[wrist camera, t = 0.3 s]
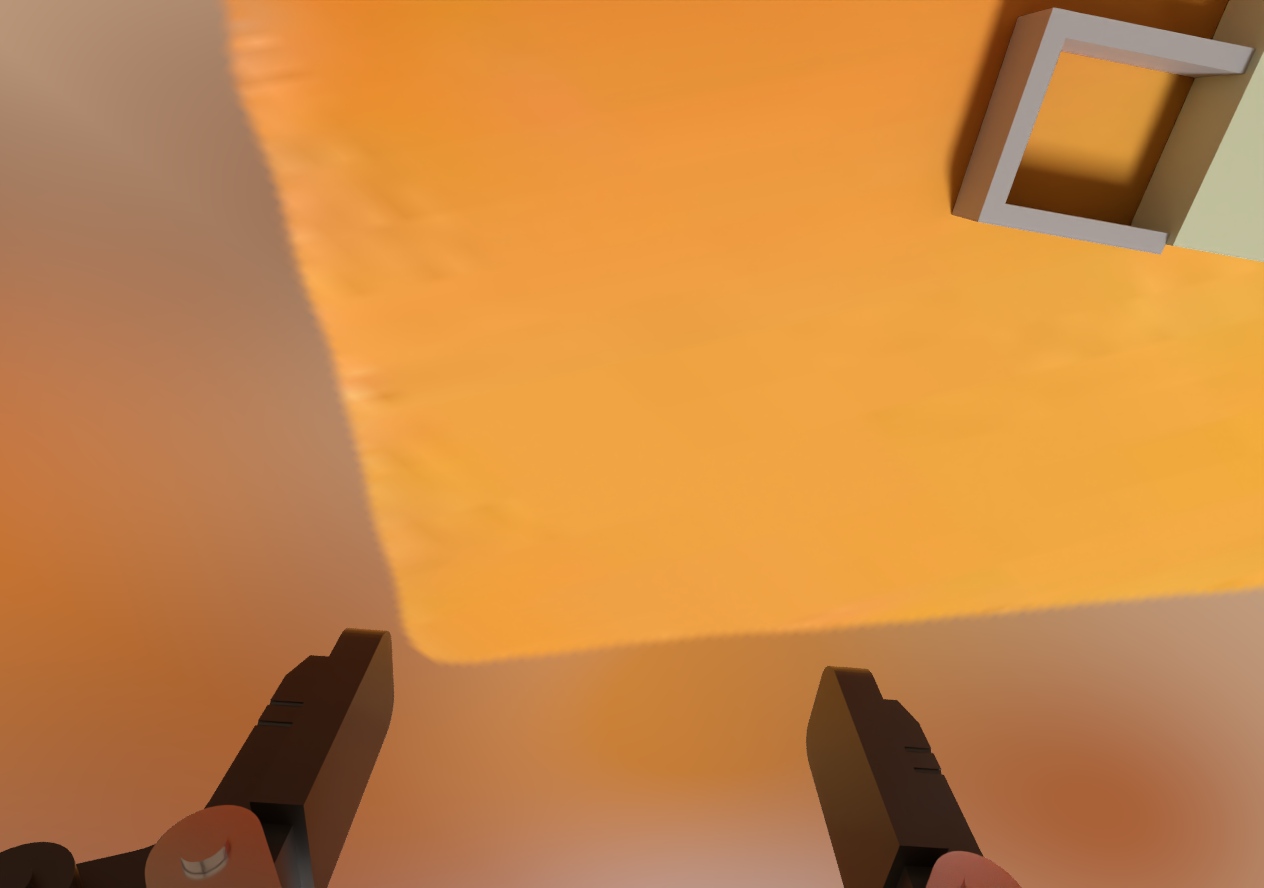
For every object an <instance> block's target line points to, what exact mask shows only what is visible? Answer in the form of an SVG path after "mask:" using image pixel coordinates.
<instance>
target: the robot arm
mask: <svg viewBox="0 0 1264 888" xmlns="http://www.w3.org/2000/svg"><path fill="white" fill-rule="evenodd" d="M393 684H394V683H393V663H392V642H391V635H390V633H389V632H388V631H380V630H366V629H354V628H346V629H345V630H344V631H343V632H342V634H341V636H340V637H339V639H338V641H337V643H336V645H335V647H334V649H333V650H332V652H331V654H330V656H329V657H325V656H312V655H311V656H309V657H308V658H306V659H305V660H304V661H303V662H302V663H300V664H299V665H298V666H297V667H296V668H294V669H293V670H292V671H291V672H289V673H288V674H287V675H286V676H285V677H284V679H283V681H282V682H281V684H280V685H279V687H278V689H277V690H276V692H275V694H274V695H273V697H272V699H271V702H270V705H268V706H267V707H266V709H265V710H264V712H263V714H262V715H261V717H260V718H259V721H258V725H257V726H255V727H254V728H253V730H252V732H251V733H250V735H249V737H248V739H247V740H246V742H245V743H244V745H243V747H242V748H241V750H240V751H239V753H238V755H237V756H236V758H235V760H234V761H233V763H232V765H231V766H230V768H229V770H228V771H227V773H226V775H225V776H224V778H223V780H222V782H221V783H220V784H219V786H218V788H217V790H216V791H215V793H214V794H213V796H212V798H211V799H210V801H209V802H208V804H207V805H206V807H205V808H204V809H203V810H200V811H197V812H195V813H193V814H191V815H189V816H187V817H185V818H184V819H182V820H181V821H179V822H177V823H176V824H175V825H174V826H172V827H171V828H170V829H169V830H167V832H166V833H164V834H163V835H162V836H161V838H160V839H159V840H158V841H157V843H156V844H154V845H152V846H150V847H147V848H144V849H140V850H136V851H133V852H128V853H124V854H119V855H115V856H111V857H106V858H101V859H97V860H93V861H88V862H83V863H79V864H76V863H75V861H74V858H73V856H72V854H71V852H69V850H68V849H66V848H65V847H63V846H61V845H59V844H55V843H50V842H37V843H30V844H24V845H20V846H17V847H14V848H10V849H8V850H5V851H3V852H1V853H0V888H327V887H328V884H329V881H330V879H331V876H332V874H333V871H334V868H335V866H336V863H337V861H338V858H339V855H340V853H341V850H342V848H343V845H344V843H345V840H346V837H347V835H348V832H349V829H350V827H351V824H352V822H353V819H354V817H355V814H356V811H357V809H358V806H359V804H360V801H361V799H362V796H363V793H364V791H365V788H366V786H367V783H368V780H369V778H370V775H371V773H372V770H373V767H374V765H375V762H376V759H377V757H378V754H379V752H380V749H381V747H382V744H383V741H384V739H385V736H386V734H387V731H388V728H389V725H390V721H391V716H392V711H393V703H394V685H393ZM806 746H807V756H808V761H809V765H810V769H811V772H812V776H813V779H814V783H815V786H816V790H817V793H818V797H819V800H820V804H821V807H822V811H823V814H824V818H825V821H826V825H827V828H828V832H829V836H830V839H831V843H832V846H833V850H834V853H835V857H836V860H837V864H838V868H839V871H840V875H841V878H842V882H843V885H844V888H1021V886H1020V885H1019V884H1018V883H1017V881H1016V880H1014V878H1012V876H1011V875H1010V874H1009V873H1007V872H1006V871H1005V870H1004V869H1003V868H1001V867H1000V866H998V865H997V864H995V863H994V862H992V861H991V860H988V859H987V858H985V857H983V855H982V853H981V851H980V849H979V847H978V845H977V843H976V841H975V839H974V836H973V835H972V832H971V830H970V828H969V826H968V824H967V822H966V820H965V818H964V816H963V814H962V812H961V810H960V807H959V805H958V803H957V802H956V799H955V797H954V795H953V793H952V791H951V789H950V787H949V785H948V783H947V780H946V778H945V776H944V775H942V774H941V768H940V766H939V764H938V762H937V760H936V758H935V756H934V754H933V753H931V747H930V745H929V743H928V741H927V739H926V737H925V735H924V733H923V731H922V729H921V727H920V724H919V723H918V722H917V721H916V720H915V719H914V718H913V716H912V715H911V714H910V713H909V712H908V711H907V710H906V709H905V708H904V707H903V706H902V705H901V704H900V703H899V702H898V701H897V700H886V699H883V698H882V695H881V693H880V691H879V689H878V686H877V684H876V682H875V679H874V677H873V675H872V673H871V672H870V671H869V670H868V669H860V668H847V667H833V666H827V667H826V668H825V669H824V671H823V674H822V677H821V681H820V684H819V688H818V691H817V695H816V699H815V702H814V705H813V709H812V712H811V716H810V719H809V723H808V727H807V737H806Z"/></svg>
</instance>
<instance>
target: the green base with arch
mask: <svg viewBox="0 0 1264 888" xmlns="http://www.w3.org/2000/svg"><path fill="white" fill-rule="evenodd" d="M1061 51H1063V52H1068V53H1073V54H1078V55H1083V56H1088V57H1093V58H1098V59H1103V60H1108V61H1113V62H1118V63H1123V64H1128V65H1133V66H1138V67H1143V68H1148V69H1153V70H1158V71H1163V72H1168V73H1173V74H1178V75H1183V76H1188V77H1193V78H1195V79H1194V81H1193V84H1192V86H1191V88H1190V91H1189V93H1188V95H1187V97H1186V100H1185V102H1184V104H1183V107H1182V109H1181V111H1180V113H1179V116H1178V118H1177V120H1176V122H1175V125H1174V127H1173V129H1172V132H1171V134H1170V136H1169V138H1168V141H1167V143H1166V145H1165V148H1164V150H1163V152H1162V154H1161V157H1160V159H1159V161H1158V163H1157V166H1156V168H1155V170H1154V173H1153V175H1152V177H1151V179H1150V182H1149V184H1148V186H1147V189H1146V191H1145V193H1144V195H1143V198H1142V200H1141V202H1140V204H1139V207H1138V209H1137V211H1136V214H1135V216H1134V218H1133V220H1132V223H1131V225H1124V224H1118V223H1113V222H1107V221H1102V220H1096V219H1091V218H1085V217H1080V216H1074V215H1069V214H1063V213H1058V212H1052V211H1047V210H1041V209H1036V208H1030V207H1025V206H1019V205H1013V204H1008V203H1006V200H1007V198H1008V195H1009V192H1010V189H1011V187H1012V184H1013V181H1014V178H1015V176H1016V173H1017V170H1018V167H1019V165H1020V162H1021V159H1022V156H1023V154H1024V151H1025V148H1026V145H1027V143H1028V140H1029V137H1030V134H1031V132H1032V129H1033V126H1034V123H1035V121H1036V118H1037V115H1038V113H1039V110H1040V107H1041V104H1042V102H1043V99H1044V96H1045V93H1046V91H1047V88H1048V85H1049V82H1050V80H1051V77H1052V74H1053V71H1054V69H1055V66H1056V63H1057V60H1058V58H1059V55H1060V52H1061ZM952 215H955V216H959V217H962V218H966V219H969V220H973V221H977V222H982V223H987V224H993V225H998V226H1004V227H1010V228H1015V229H1021V230H1026V231H1032V232H1038V233H1043V234H1049V235H1054V236H1060V237H1066V238H1071V239H1077V240H1082V241H1088V242H1094V243H1099V244H1105V245H1111V246H1116V247H1122V248H1127V249H1133V250H1139V251H1144V252H1150V253H1155V254H1161V253H1162V251H1163V249H1164V246H1165V244H1167V245H1172V246H1177V247H1182V248H1188V249H1194V250H1199V251H1205V252H1210V253H1216V254H1221V255H1227V256H1233V257H1238V258H1244V259H1249V260H1255V261H1260V262H1264V0H1229V2H1228V4H1227V6H1226V9H1225V11H1224V13H1223V15H1222V18H1221V20H1220V22H1219V25H1218V27H1217V29H1216V31H1215V34H1214V36H1213V38H1212V40H1211V39H1206V38H1201V37H1196V36H1191V35H1186V34H1181V33H1177V32H1172V31H1167V30H1162V29H1157V28H1152V27H1147V26H1142V25H1137V24H1133V23H1128V22H1123V21H1118V20H1113V19H1108V18H1103V17H1098V16H1093V15H1089V14H1084V13H1079V12H1074V11H1069V10H1064V9H1059V8H1054V7H1053V8H1049V9H1045V10H1042V11H1038V12H1034V13H1031V14H1027V15H1023V16H1019V17H1018V19H1017V22H1016V25H1015V28H1014V31H1013V34H1012V37H1011V40H1010V42H1009V45H1008V48H1007V51H1006V54H1005V57H1004V60H1003V63H1002V66H1001V69H1000V72H999V75H998V78H997V81H996V84H995V87H994V90H993V93H992V96H991V99H990V102H989V105H988V108H987V111H986V114H985V117H984V120H983V123H982V126H981V129H980V132H979V135H978V137H977V140H976V143H975V146H974V149H973V152H972V155H971V158H970V161H969V164H968V167H967V170H966V173H965V176H964V179H963V182H962V185H961V188H960V191H959V194H958V197H957V200H956V203H955V206H954V209H953V212H952Z"/></svg>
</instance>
